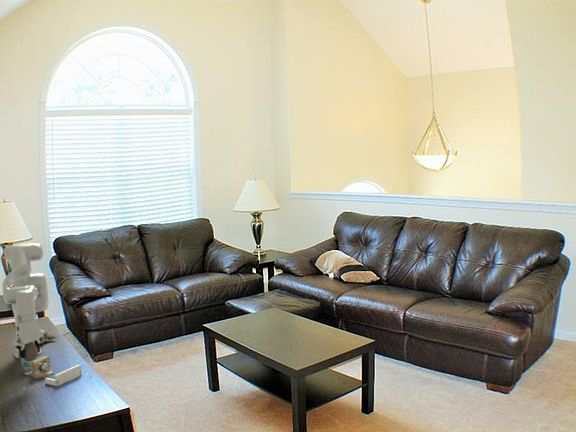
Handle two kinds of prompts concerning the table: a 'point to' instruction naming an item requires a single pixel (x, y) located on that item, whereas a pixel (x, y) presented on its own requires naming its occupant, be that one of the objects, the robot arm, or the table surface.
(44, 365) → the mallet
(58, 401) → the table surface
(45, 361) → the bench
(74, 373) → the cradle
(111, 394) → the table surface
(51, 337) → the ceramic sculpture
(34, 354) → the vase
